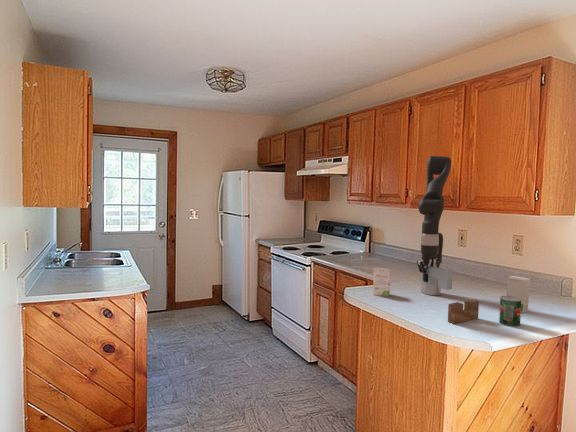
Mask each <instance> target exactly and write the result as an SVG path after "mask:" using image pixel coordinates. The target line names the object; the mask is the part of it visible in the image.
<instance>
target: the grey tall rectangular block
mask: <svg viewBox="0 0 576 432" xmlns="http://www.w3.org/2000/svg"><path fill="white" fill-rule="evenodd" d="M425 267H427V266H425ZM425 271H426V268H425ZM435 278H439V280H438V288H441V290H442V289H443V290H445V291H446V290H447V291H449V290H452V289H453V270H450V269H446V268H443V267H442V268H438V267H433V266H430V269H429V271H428V282H424V281H423V273H421V281H422V283H424V284H428V285H434V284H435Z"/></svg>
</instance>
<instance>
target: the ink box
mask: <svg viewBox="0 0 576 432" xmlns="http://www.w3.org/2000/svg"><path fill="white" fill-rule="evenodd" d="M372 283H373V284H372V285H373V286H372V287H373V288H372V294H373V296H381V297H382V296H383V297H390V293H391V272H390V268H385V267H374V268H373V280H372Z"/></svg>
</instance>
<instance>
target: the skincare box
mask: <svg viewBox="0 0 576 432" xmlns="http://www.w3.org/2000/svg"><path fill="white" fill-rule="evenodd" d="M506 283H507V284H506V285H507V286H506V295H505V296H513V297H517V298H520V299H521V314H525V313H526V312H528V310H529V300H530V289H531V288H530V287H531V278H528V277H523V276H517V275H510V276H508V277H507V282H506Z"/></svg>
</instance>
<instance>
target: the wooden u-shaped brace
mask: <svg viewBox="0 0 576 432" xmlns="http://www.w3.org/2000/svg"><path fill="white" fill-rule="evenodd" d="M463 302H464V303H462V302H458V301H457V302H451V303H448V304H447V305H448V307H447V308H448V309H447V311H448V312H447V323H448V322H449V323H448V324H451V323H452V324H451V325H457V324H460V323H466V322H471V321H475V320H478V319H479V309H480V308H479V305H480V304H479V303H480V301H479V300H477V299H474V298H472V299H471V298H470V299H466V300H463Z"/></svg>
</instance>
